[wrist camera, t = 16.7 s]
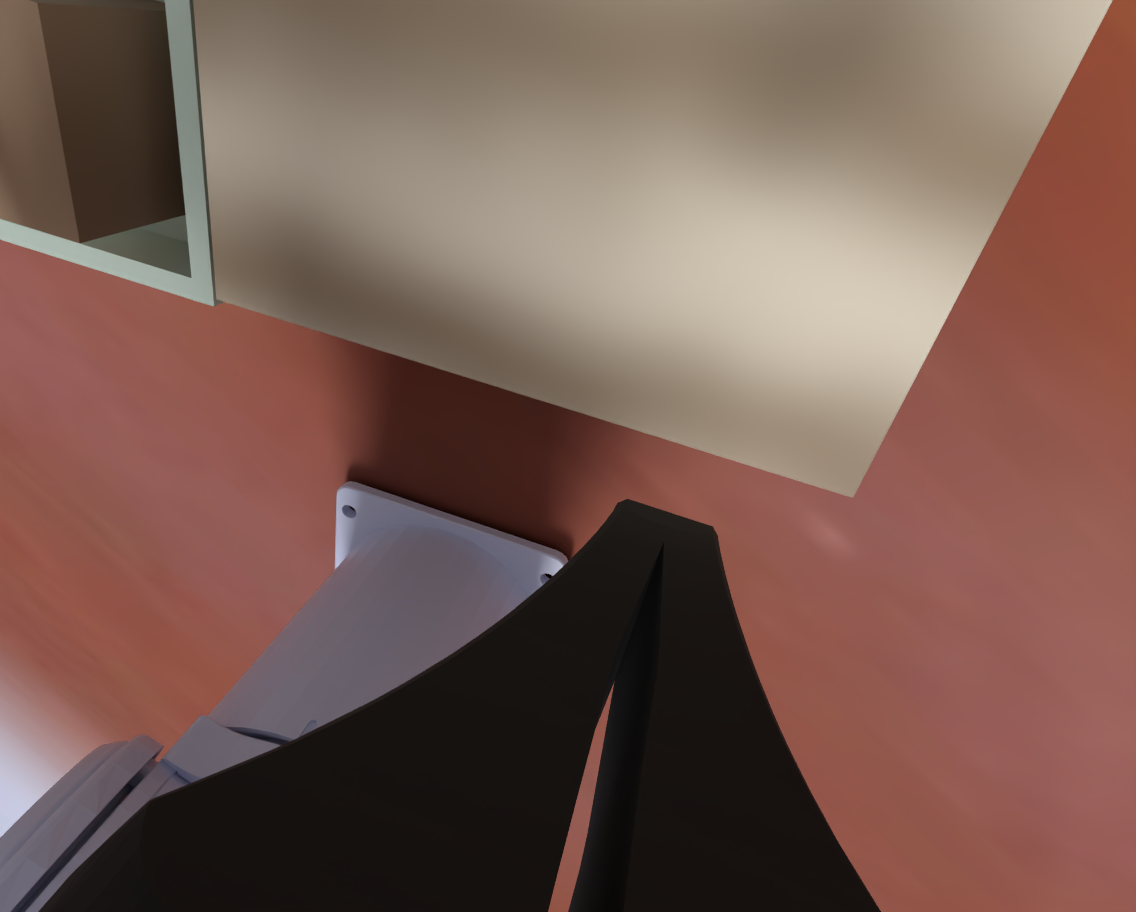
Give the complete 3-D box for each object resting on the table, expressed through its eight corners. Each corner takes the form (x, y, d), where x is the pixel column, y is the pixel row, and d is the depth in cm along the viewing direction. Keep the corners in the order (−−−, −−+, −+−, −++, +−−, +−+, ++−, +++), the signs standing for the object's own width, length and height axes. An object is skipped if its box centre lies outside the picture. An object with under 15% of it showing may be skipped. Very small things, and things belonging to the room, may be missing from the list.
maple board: (843, 435, 18) (853, 497, 16) (287, 268, 20) (216, 299, 18) (1217, -339, 11) (1351, -460, 8) (272, -487, 13) (144, -622, 10)
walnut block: (79, 243, 15) (-36, 207, 16) (219, 205, 19) (123, 176, 19) (37, 2, 13) (-98, -34, 13) (206, 14, 17) (97, -16, 17)
